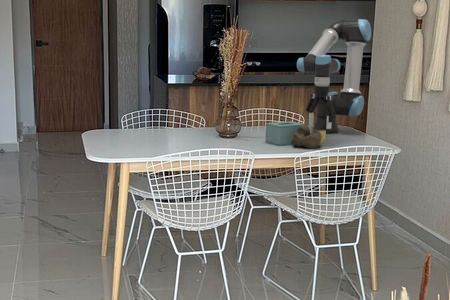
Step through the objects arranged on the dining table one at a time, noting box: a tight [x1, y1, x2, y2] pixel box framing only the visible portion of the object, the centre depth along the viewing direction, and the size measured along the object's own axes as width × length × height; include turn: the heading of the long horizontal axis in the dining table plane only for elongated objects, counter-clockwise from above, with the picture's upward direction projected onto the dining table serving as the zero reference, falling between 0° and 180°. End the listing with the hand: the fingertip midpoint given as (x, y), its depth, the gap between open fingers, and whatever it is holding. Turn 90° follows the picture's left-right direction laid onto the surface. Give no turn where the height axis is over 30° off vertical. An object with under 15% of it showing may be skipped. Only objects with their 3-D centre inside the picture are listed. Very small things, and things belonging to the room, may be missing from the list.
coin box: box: [264, 120, 306, 147], centre depth 308 cm, size 16×12×10 cm
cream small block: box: [318, 130, 327, 145], centre depth 306 cm, size 6×3×7 cm, turn 123°
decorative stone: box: [291, 124, 322, 149], centre depth 298 cm, size 16×11×15 cm
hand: (319, 127), depth 305 cm, fingers open, 13 cm apart
